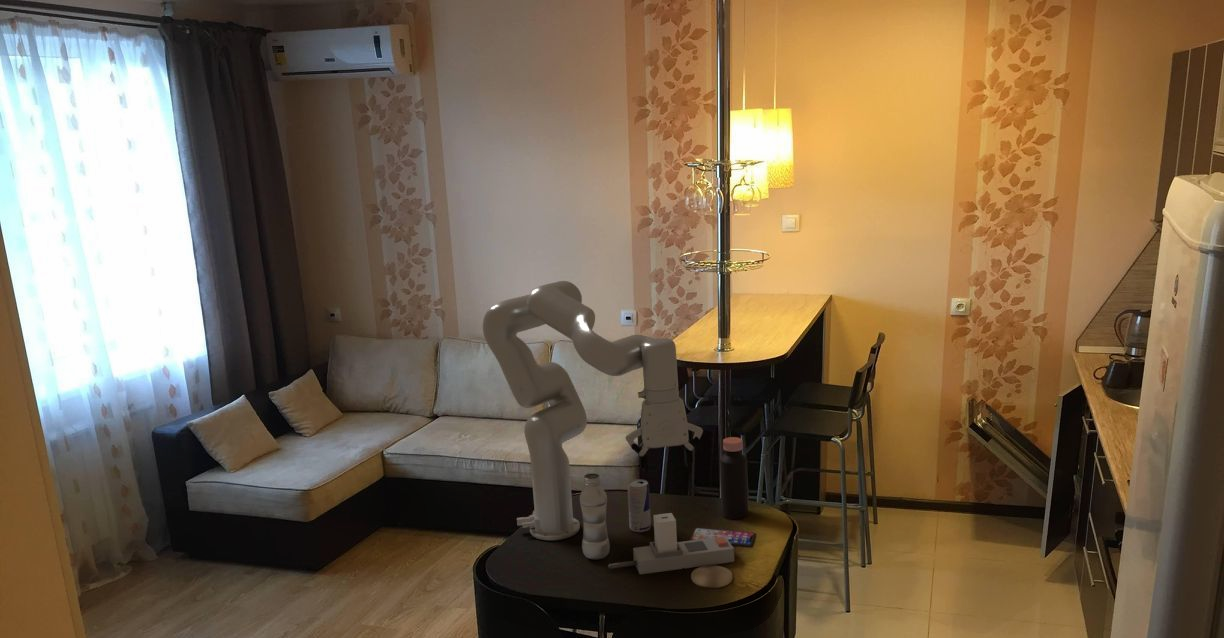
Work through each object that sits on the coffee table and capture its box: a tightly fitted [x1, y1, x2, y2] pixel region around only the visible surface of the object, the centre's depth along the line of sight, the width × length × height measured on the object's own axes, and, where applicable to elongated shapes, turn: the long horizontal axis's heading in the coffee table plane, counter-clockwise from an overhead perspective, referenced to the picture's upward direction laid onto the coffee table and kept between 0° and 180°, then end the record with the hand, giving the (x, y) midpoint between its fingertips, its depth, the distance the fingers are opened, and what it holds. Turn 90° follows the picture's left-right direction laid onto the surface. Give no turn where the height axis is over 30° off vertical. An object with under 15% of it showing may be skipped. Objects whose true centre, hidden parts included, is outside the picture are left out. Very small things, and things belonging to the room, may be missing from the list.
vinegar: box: [719, 436, 749, 520], centre depth 213 cm, size 7×7×20 cm
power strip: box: [607, 536, 735, 575], centre depth 191 cm, size 28×7×4 cm, turn 100°
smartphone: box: [688, 527, 756, 548], centre depth 202 cm, size 8×1×15 cm
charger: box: [653, 512, 678, 553], centre depth 190 cm, size 4×4×8 cm
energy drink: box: [627, 478, 652, 533], centre depth 209 cm, size 5×5×12 cm
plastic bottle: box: [579, 472, 611, 561], centre depth 195 cm, size 6×7×20 cm
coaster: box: [690, 564, 733, 589], centre depth 184 cm, size 9×9×1 cm
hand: (666, 468), depth 188 cm, fingers open, 9 cm apart
